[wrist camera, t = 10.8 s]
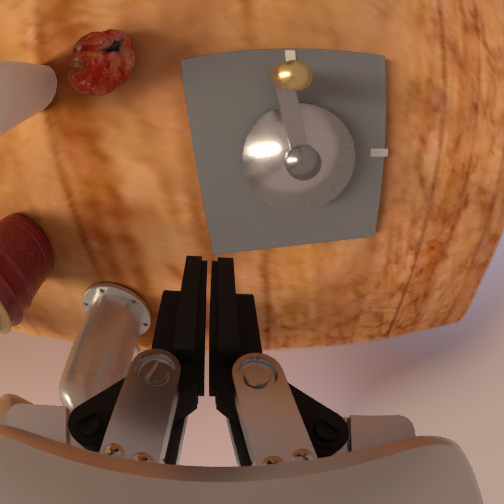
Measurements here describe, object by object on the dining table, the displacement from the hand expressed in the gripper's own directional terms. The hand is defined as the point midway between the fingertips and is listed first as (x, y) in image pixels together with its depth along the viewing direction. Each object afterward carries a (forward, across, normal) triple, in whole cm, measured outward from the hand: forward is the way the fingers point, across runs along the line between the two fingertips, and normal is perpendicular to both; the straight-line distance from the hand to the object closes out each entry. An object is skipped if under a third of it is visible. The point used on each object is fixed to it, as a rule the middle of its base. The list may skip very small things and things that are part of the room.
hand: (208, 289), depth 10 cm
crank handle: (+21, -8, -3) cm, 23 cm away
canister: (+25, +32, +15) cm, 43 cm away
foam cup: (+24, +24, -9) cm, 35 cm away
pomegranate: (+24, +13, -11) cm, 29 cm away
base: (+23, -9, -1) cm, 25 cm away
